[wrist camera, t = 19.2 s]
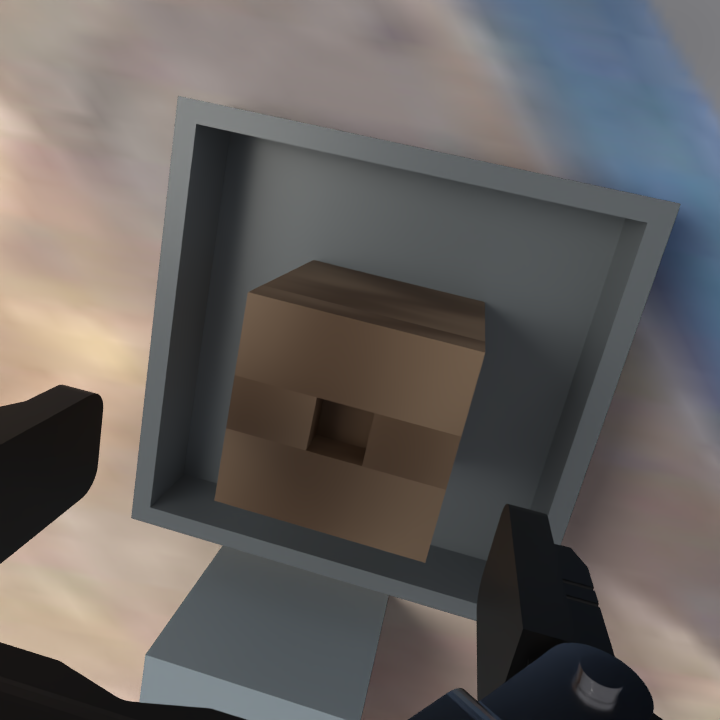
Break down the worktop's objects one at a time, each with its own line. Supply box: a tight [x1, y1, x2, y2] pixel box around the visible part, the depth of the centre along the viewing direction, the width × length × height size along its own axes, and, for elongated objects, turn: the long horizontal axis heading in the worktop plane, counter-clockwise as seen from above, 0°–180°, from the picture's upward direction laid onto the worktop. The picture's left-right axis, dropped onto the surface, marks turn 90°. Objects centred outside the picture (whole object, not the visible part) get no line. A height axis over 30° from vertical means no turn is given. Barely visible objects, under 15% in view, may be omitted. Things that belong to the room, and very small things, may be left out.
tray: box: [131, 96, 680, 621], centre depth 20 cm, size 13×13×3 cm
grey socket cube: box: [140, 546, 389, 720], centre depth 22 cm, size 6×6×6 cm
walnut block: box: [214, 260, 485, 563], centre depth 18 cm, size 6×6×6 cm
